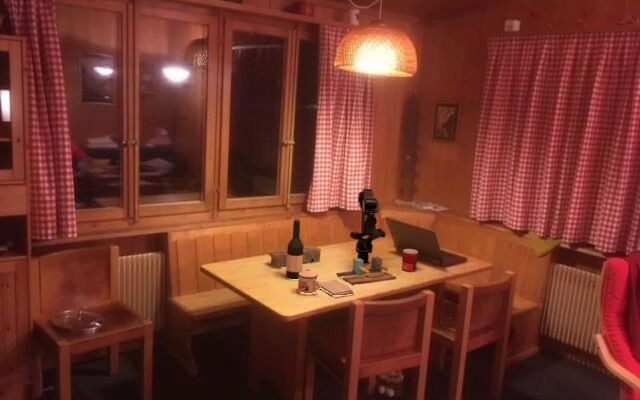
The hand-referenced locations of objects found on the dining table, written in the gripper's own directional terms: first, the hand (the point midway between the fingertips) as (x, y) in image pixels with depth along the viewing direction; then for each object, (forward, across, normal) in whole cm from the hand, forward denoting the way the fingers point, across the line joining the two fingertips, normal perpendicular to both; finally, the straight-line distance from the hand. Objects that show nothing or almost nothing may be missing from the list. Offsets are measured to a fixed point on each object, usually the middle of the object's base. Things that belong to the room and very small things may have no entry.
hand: (366, 250), depth 301 cm
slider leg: (+11, -6, -7) cm, 15 cm away
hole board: (+11, -5, -12) cm, 18 cm away
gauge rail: (+12, -5, -7) cm, 14 cm away
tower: (+12, -31, +23) cm, 40 cm away
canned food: (+12, +24, -6) cm, 28 cm away
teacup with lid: (+11, -43, -21) cm, 49 cm away
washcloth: (+12, -30, -21) cm, 38 cm away
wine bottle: (+12, -41, +1) cm, 43 cm away
